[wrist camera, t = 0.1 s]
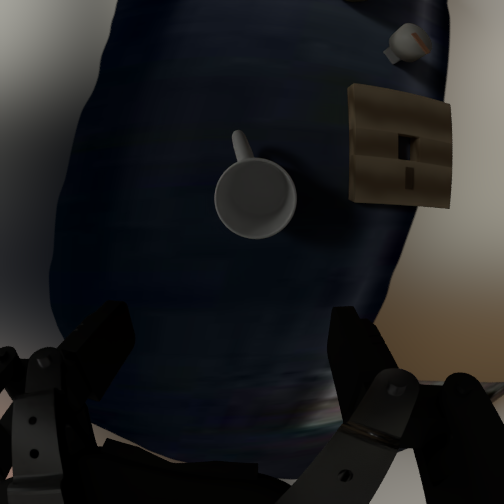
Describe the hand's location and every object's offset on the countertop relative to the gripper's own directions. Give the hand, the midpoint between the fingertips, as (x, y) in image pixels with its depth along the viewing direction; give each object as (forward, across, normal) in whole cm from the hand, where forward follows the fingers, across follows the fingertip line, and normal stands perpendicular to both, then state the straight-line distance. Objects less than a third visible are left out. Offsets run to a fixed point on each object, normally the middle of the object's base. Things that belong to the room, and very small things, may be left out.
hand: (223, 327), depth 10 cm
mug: (+29, 0, -4) cm, 30 cm away
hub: (+29, -21, -9) cm, 37 cm away
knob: (+29, -21, -24) cm, 43 cm away
